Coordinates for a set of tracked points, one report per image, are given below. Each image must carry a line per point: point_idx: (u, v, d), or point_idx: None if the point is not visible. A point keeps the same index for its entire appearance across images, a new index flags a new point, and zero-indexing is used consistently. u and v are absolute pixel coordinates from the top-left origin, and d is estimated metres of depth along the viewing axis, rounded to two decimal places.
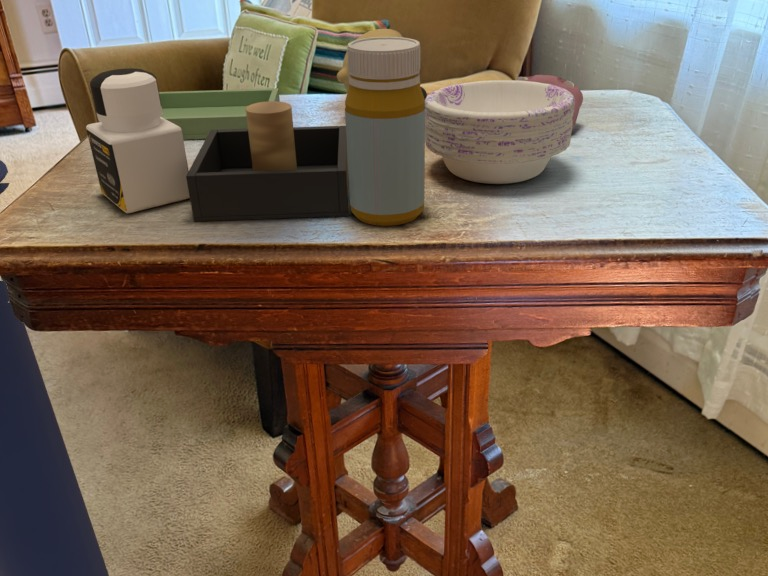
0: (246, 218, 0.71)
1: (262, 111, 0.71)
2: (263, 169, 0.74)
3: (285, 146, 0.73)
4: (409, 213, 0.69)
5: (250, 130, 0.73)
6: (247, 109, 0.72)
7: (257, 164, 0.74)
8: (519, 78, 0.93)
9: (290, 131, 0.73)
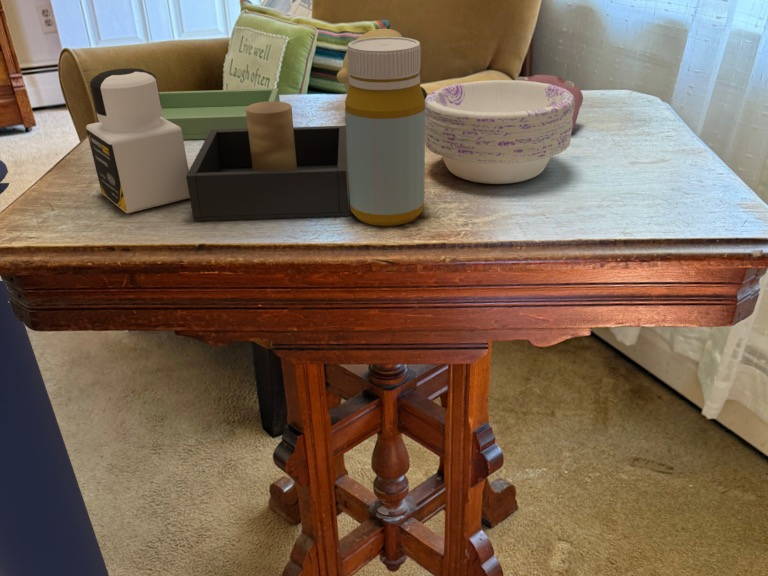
0: (246, 218, 0.71)
1: (262, 111, 0.71)
2: (263, 169, 0.74)
3: (285, 146, 0.73)
4: (409, 213, 0.69)
5: (250, 130, 0.73)
6: (247, 109, 0.72)
7: (257, 164, 0.74)
8: (519, 78, 0.93)
9: (290, 131, 0.73)
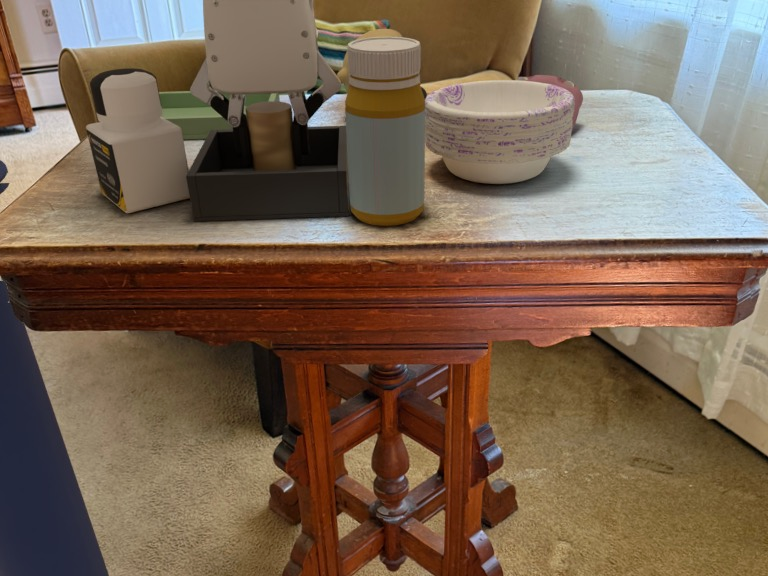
0: (246, 218, 0.71)
1: (262, 111, 0.71)
2: (263, 169, 0.74)
3: (285, 146, 0.73)
4: (409, 213, 0.69)
5: (250, 130, 0.73)
6: (247, 109, 0.72)
7: (257, 164, 0.74)
8: (519, 78, 0.93)
9: (290, 131, 0.73)
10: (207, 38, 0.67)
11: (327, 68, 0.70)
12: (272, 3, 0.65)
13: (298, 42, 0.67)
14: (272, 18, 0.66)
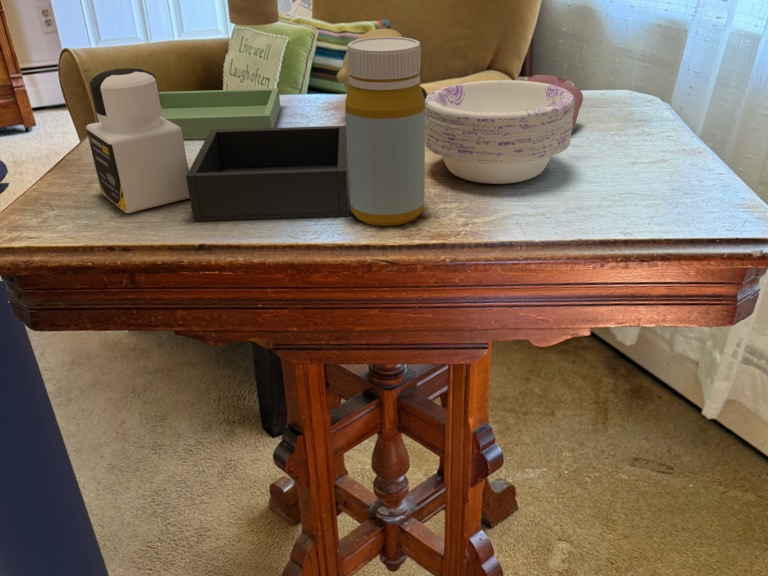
0: (246, 218, 0.71)
1: None
2: None
3: None
4: (409, 213, 0.69)
5: None
6: None
7: None
8: (519, 78, 0.93)
9: None
10: None
11: None
12: None
13: None
14: None
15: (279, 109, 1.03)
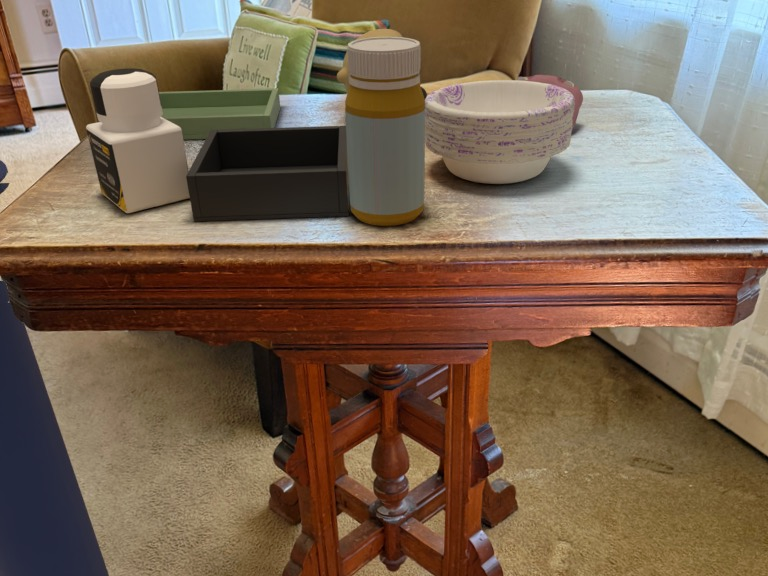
0: (246, 218, 0.71)
1: None
2: None
3: None
4: (409, 213, 0.69)
5: None
6: None
7: None
8: (519, 78, 0.93)
9: None
10: None
11: None
12: None
13: None
14: None
15: (279, 109, 1.03)
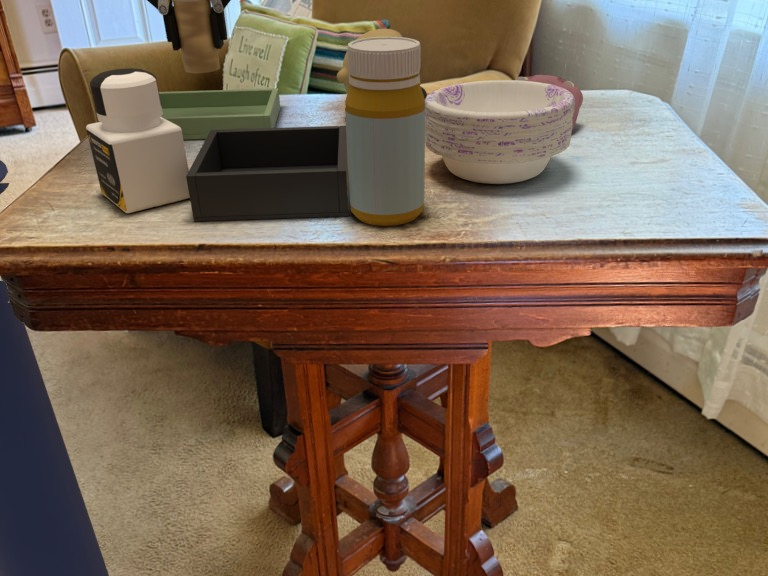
0: (246, 218, 0.71)
1: (185, 0, 0.89)
2: (188, 50, 0.92)
3: (205, 31, 0.91)
4: (409, 213, 0.69)
5: (177, 17, 0.90)
6: (174, 0, 0.90)
7: (184, 47, 0.92)
8: (519, 78, 0.93)
9: (209, 18, 0.91)
10: None
11: None
12: None
13: None
14: None
15: (279, 109, 1.03)
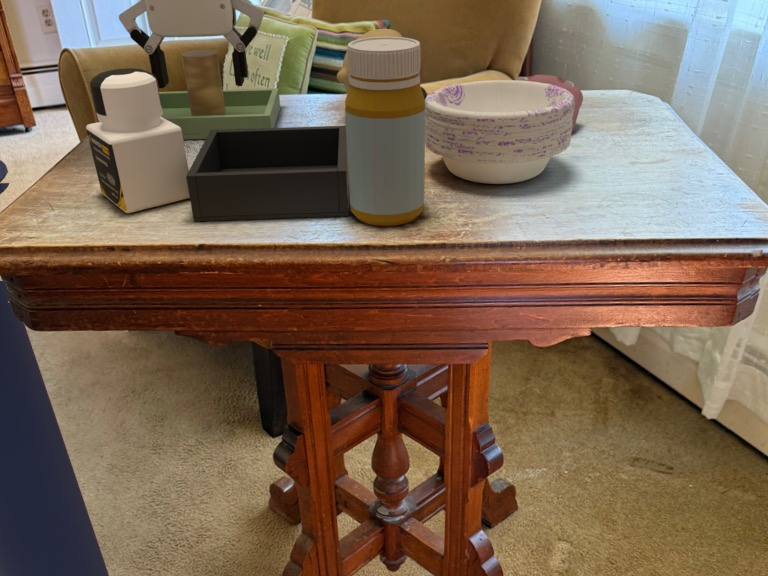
0: (246, 218, 0.71)
1: (193, 55, 0.93)
2: (196, 102, 0.95)
3: (213, 83, 0.94)
4: (409, 213, 0.69)
5: (185, 71, 0.94)
6: (182, 54, 0.93)
7: (192, 98, 0.95)
8: (519, 78, 0.93)
9: (216, 71, 0.94)
10: None
11: (246, 4, 0.90)
12: None
13: None
14: None
15: (279, 109, 1.03)
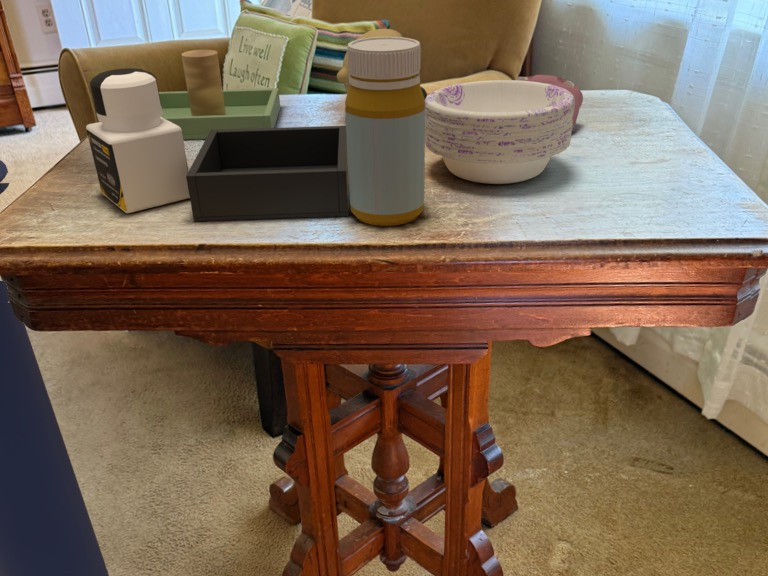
0: (246, 218, 0.71)
1: (193, 55, 0.93)
2: (196, 102, 0.95)
3: (213, 83, 0.94)
4: (409, 213, 0.69)
5: (185, 71, 0.94)
6: (182, 54, 0.93)
7: (192, 98, 0.95)
8: (519, 78, 0.93)
9: (216, 71, 0.94)
10: None
11: None
12: None
13: None
14: None
15: (279, 109, 1.03)
